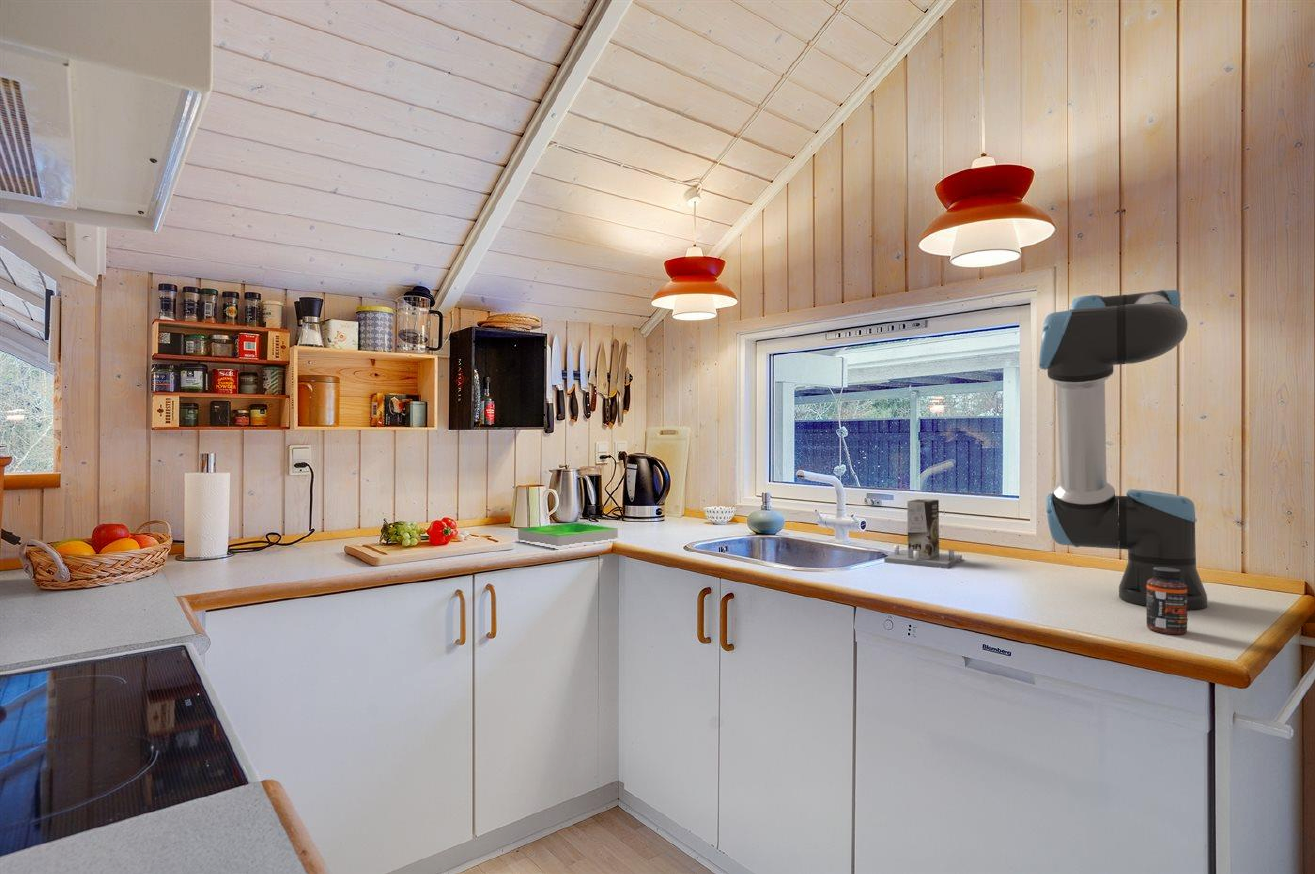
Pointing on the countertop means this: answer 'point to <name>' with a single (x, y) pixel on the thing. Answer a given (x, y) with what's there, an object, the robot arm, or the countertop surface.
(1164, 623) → the supplement bottle
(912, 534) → the coffee box
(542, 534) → the tray
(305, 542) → the countertop surface
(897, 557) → the cradle
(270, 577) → the countertop surface
